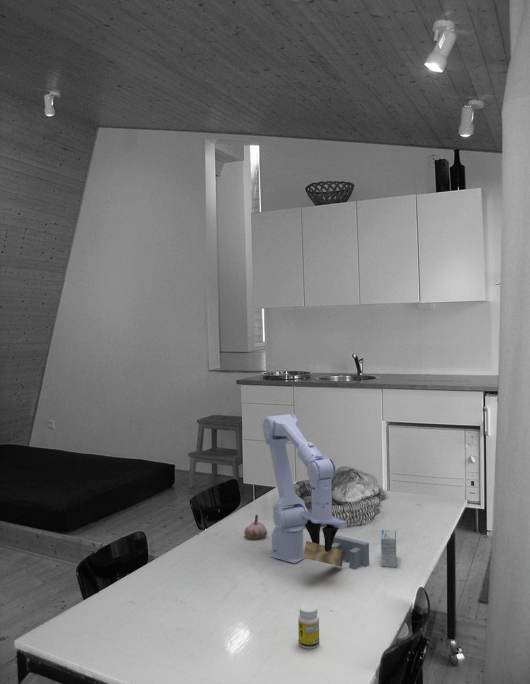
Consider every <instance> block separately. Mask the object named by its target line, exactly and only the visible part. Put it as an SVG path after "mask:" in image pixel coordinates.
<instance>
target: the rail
mask: <svg viewBox="0 0 530 684" xmlns="http://www.w3.org/2000/svg"><path fill="white" fill-rule="evenodd" d="M303 553H304V554H303V558H304V559H307V560H311V561H315V562H318V563H319V562H320V563H323V564H328V565H333V566H337V567H343V562H344V561H343V558H344V553H345V551H343V550H339V549H336V548H331V550H330V551H328V552H326V551H325V544H316V543H313V542H312V541H309V540H306V541H305V545H304V548H303Z"/></svg>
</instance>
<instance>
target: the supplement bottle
mask: <svg viewBox="0 0 530 684" xmlns="http://www.w3.org/2000/svg"><path fill="white" fill-rule="evenodd" d="M297 622H298V644H299V646H300V647H301V648H304V649H316V648H317V647H319V645H320V616H319V615H318V607H317V605H315V604H312V603H305V604H301V605H300V607H299V615H298V620H297Z"/></svg>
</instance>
